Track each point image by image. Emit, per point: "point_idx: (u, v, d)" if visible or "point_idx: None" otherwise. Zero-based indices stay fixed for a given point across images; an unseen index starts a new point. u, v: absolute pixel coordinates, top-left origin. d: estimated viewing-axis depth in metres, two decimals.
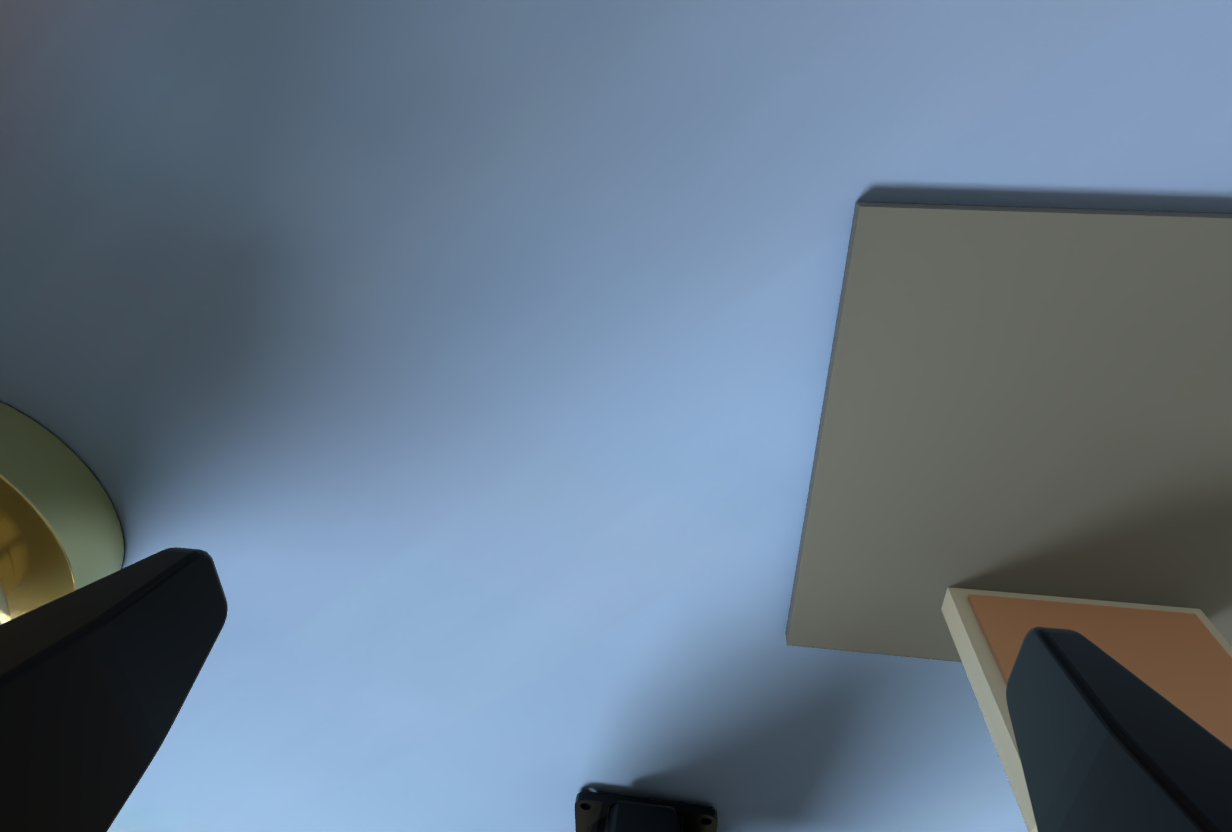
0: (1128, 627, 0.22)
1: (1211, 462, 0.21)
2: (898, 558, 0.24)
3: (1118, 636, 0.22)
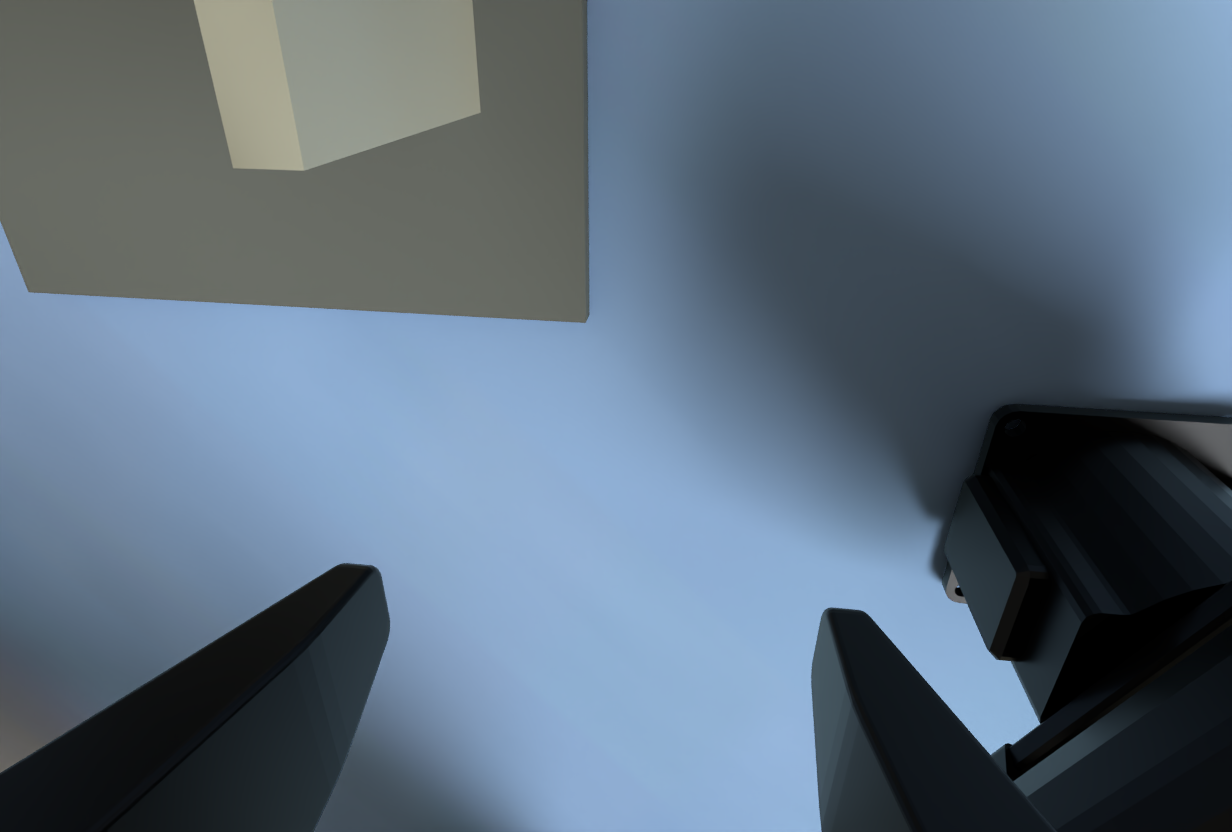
0: None
1: None
2: (405, 191, 0.17)
3: None
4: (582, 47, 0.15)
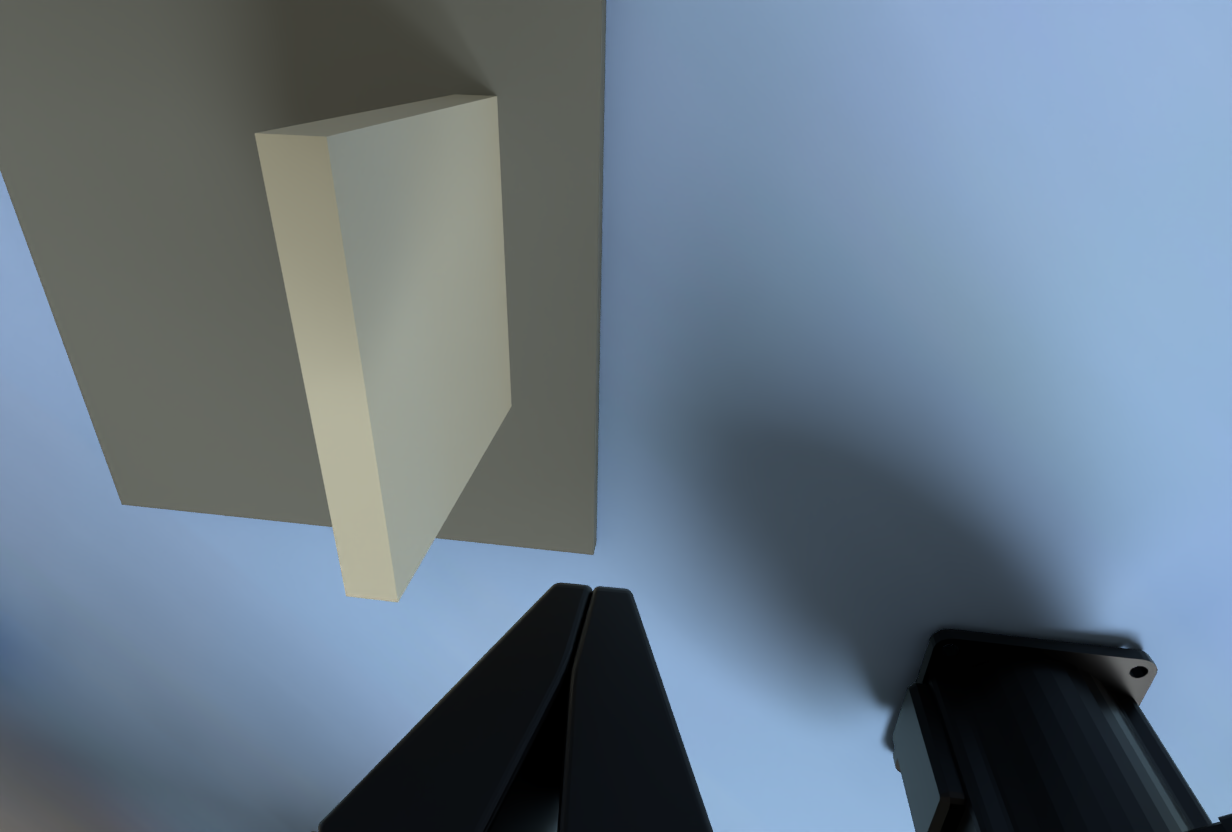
0: None
1: (246, 161, 0.18)
2: None
3: None
4: (595, 368, 0.19)
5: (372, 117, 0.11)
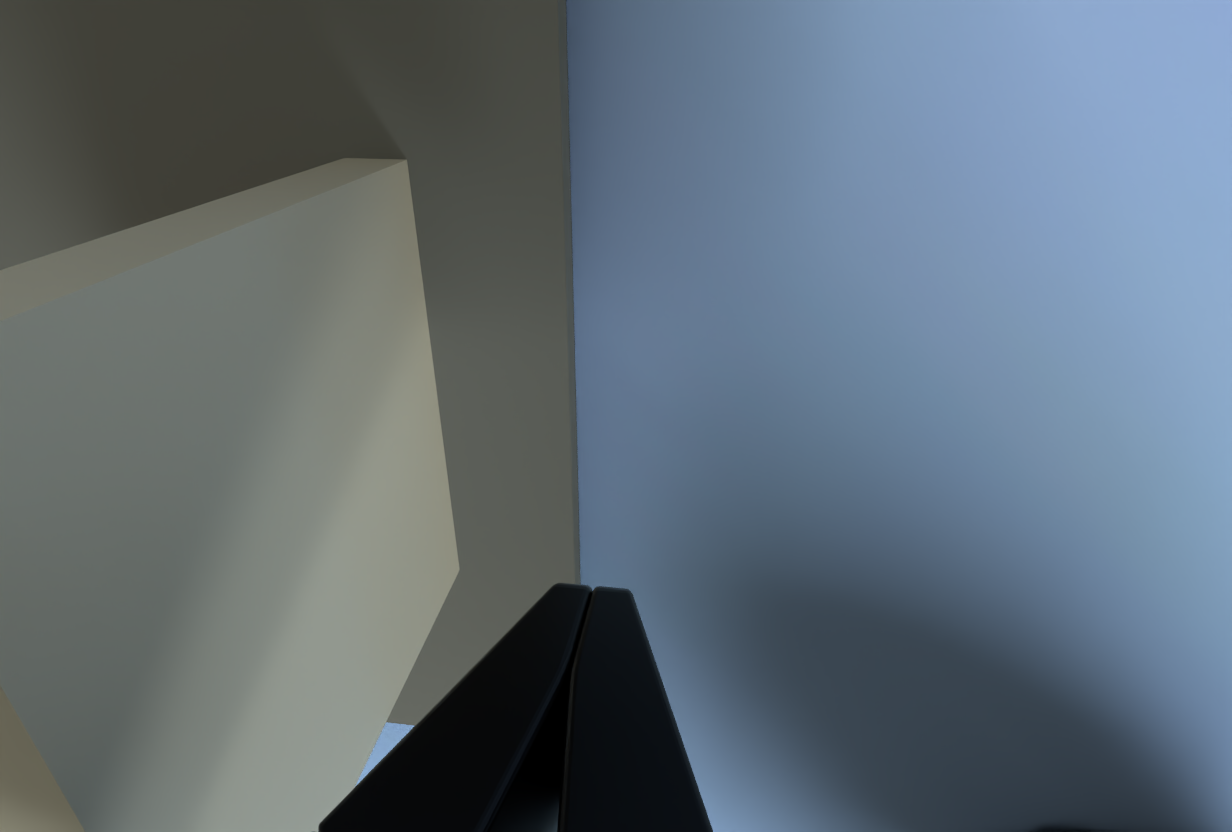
0: None
1: None
2: None
3: None
4: (572, 525, 0.14)
5: (97, 259, 0.06)
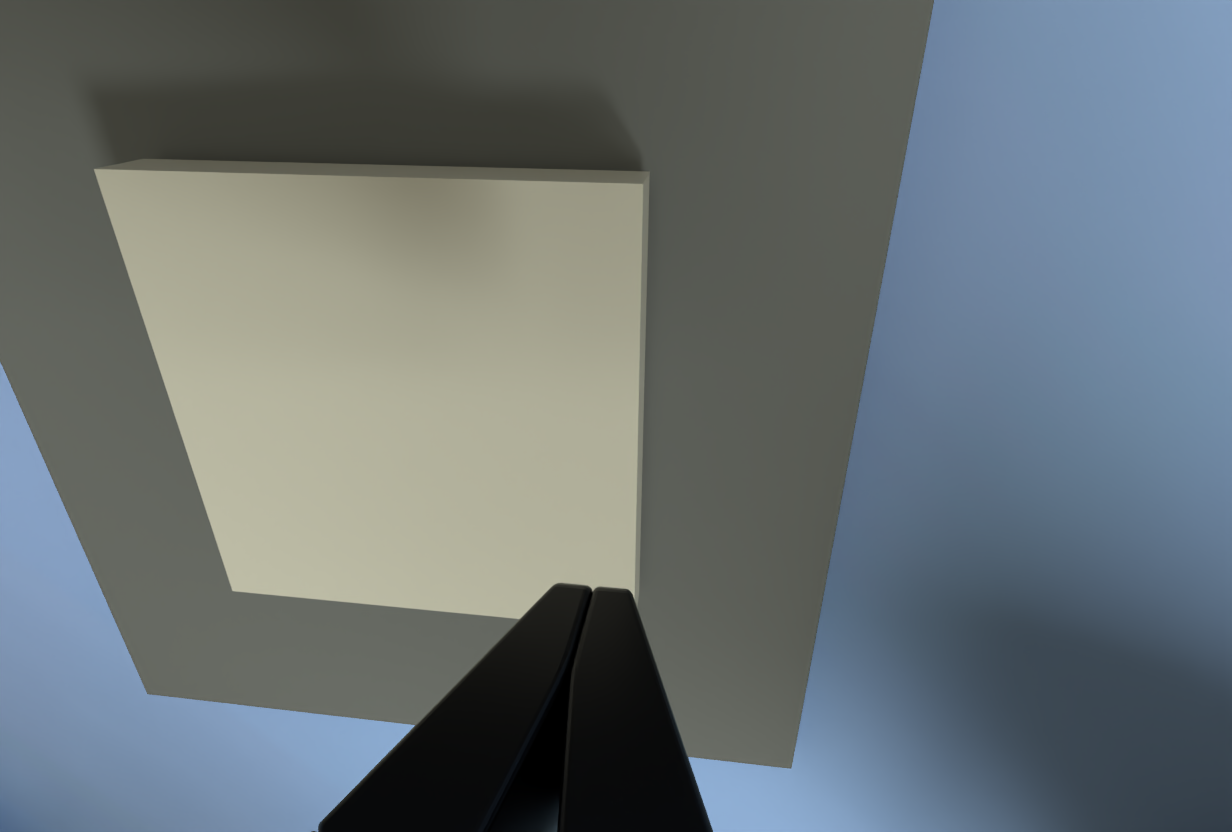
0: None
1: None
2: None
3: None
4: (831, 547, 0.13)
5: (267, 167, 0.10)
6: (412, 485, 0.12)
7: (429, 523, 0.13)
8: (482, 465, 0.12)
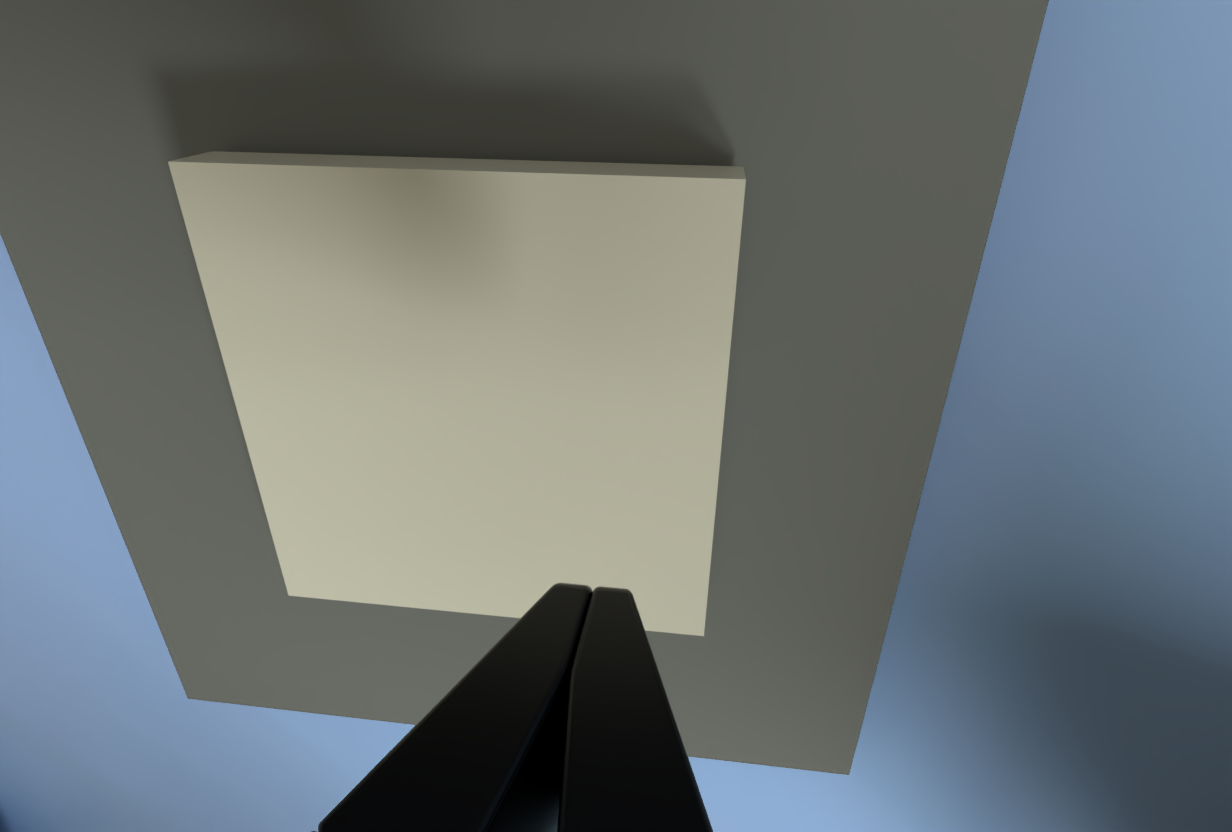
0: None
1: None
2: (657, 653, 0.15)
3: None
4: (905, 551, 0.13)
5: (347, 161, 0.10)
6: (483, 488, 0.12)
7: (498, 527, 0.12)
8: (557, 468, 0.12)
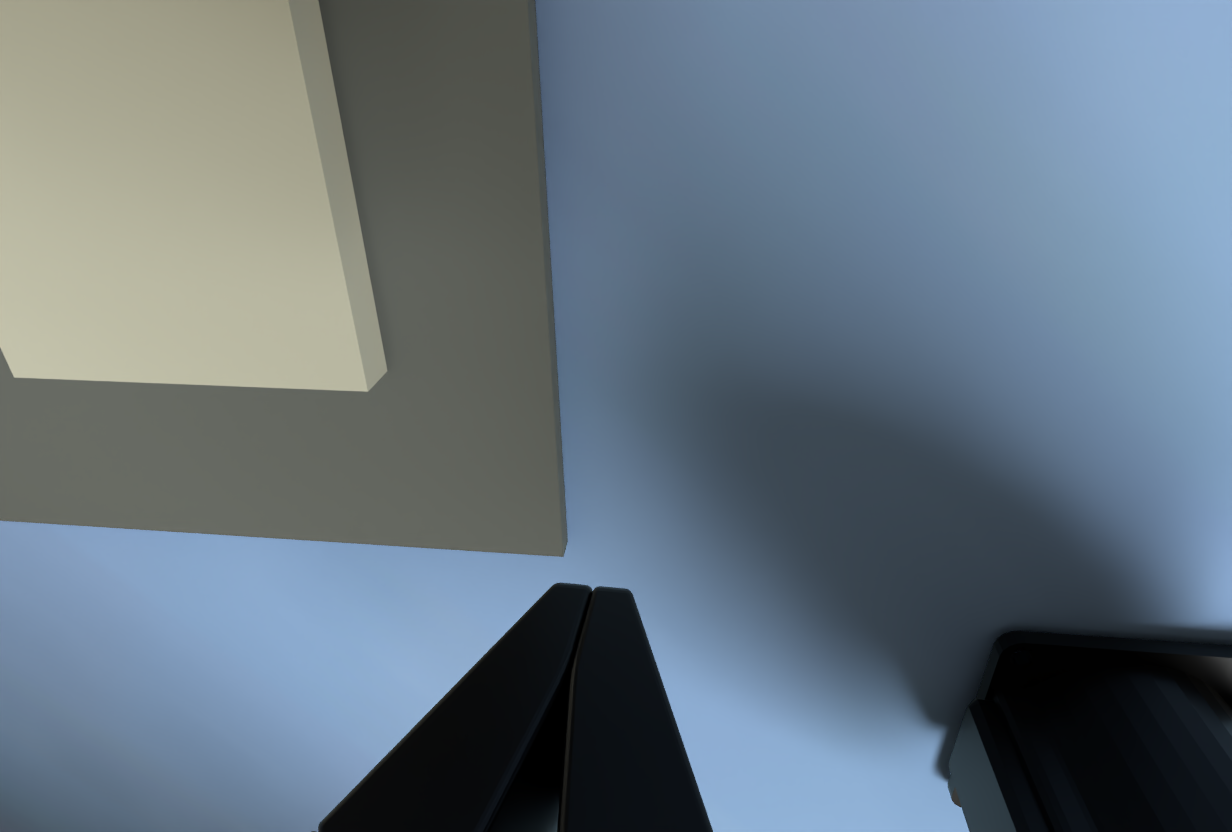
0: None
1: None
2: (368, 437, 0.16)
3: None
4: (547, 312, 0.14)
5: None
6: (145, 248, 0.13)
7: (168, 289, 0.14)
8: (200, 222, 0.13)
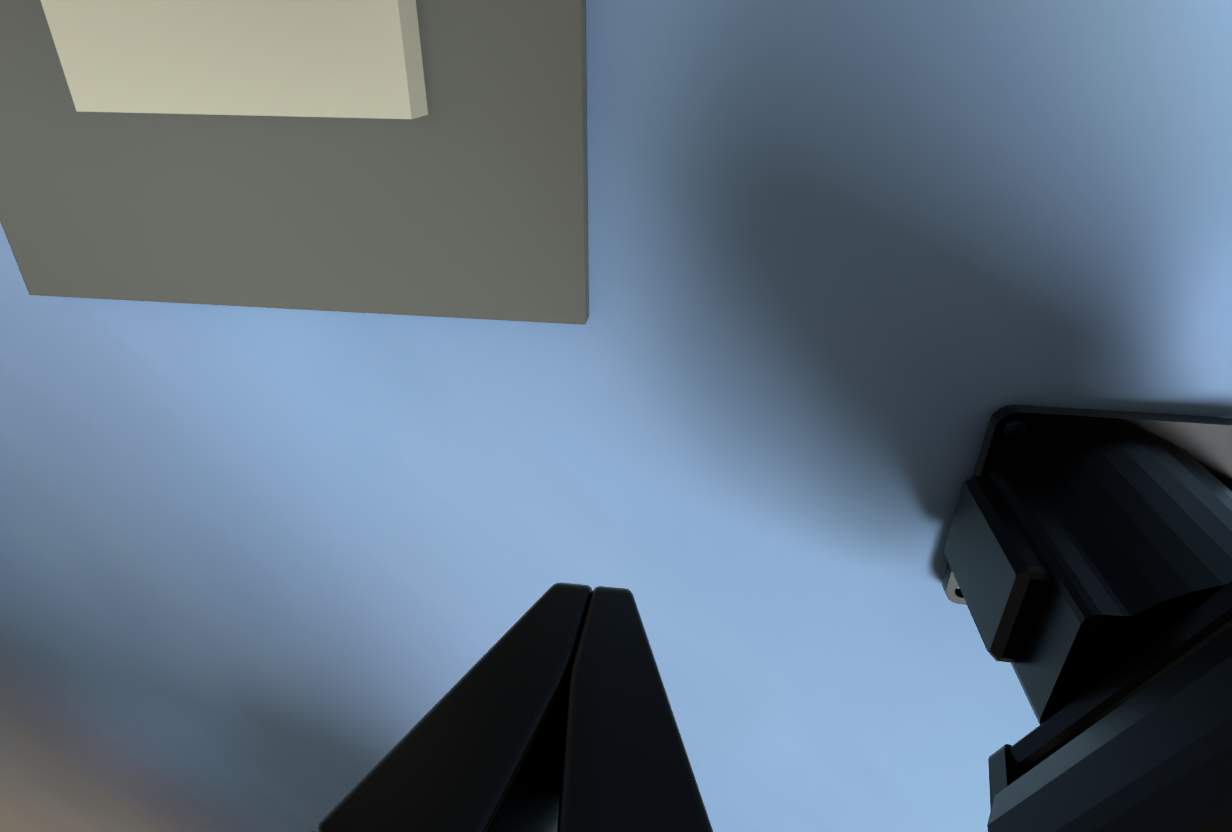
0: None
1: None
2: (405, 193, 0.17)
3: None
4: (581, 50, 0.15)
5: None
6: None
7: (229, 7, 0.15)
8: None
